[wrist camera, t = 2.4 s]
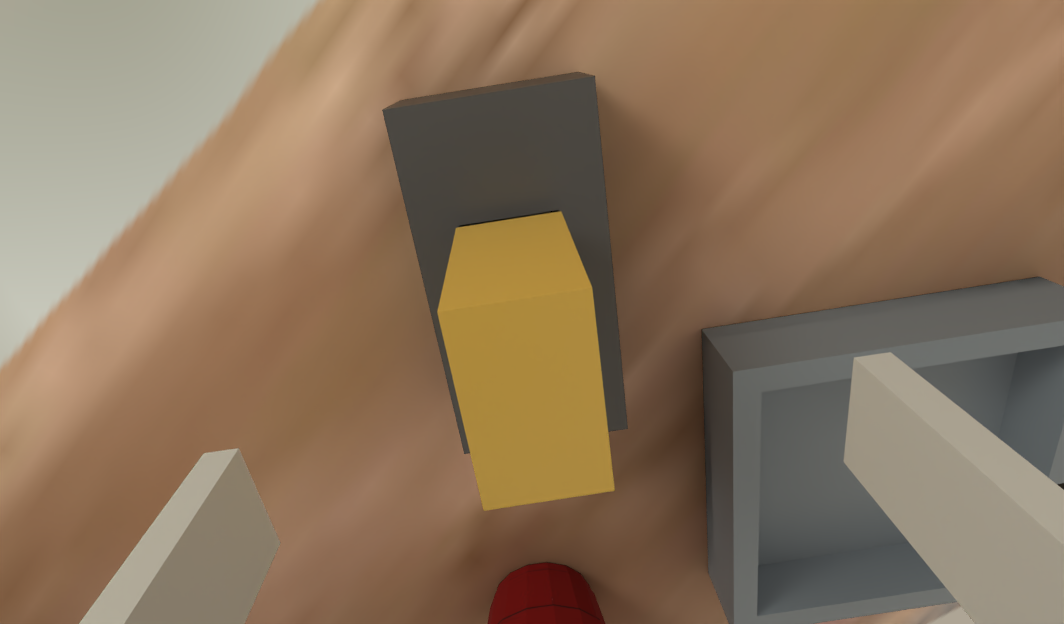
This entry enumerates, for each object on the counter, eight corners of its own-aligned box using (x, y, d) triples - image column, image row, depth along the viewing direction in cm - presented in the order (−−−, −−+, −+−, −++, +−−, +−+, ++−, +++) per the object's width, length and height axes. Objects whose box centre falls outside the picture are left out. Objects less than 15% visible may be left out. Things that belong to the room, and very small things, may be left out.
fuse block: (468, 402, 28) (464, 453, 25) (400, 100, 23) (382, 110, 19) (610, 380, 28) (627, 428, 25) (578, 71, 23) (594, 76, 19)
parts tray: (708, 573, 34) (733, 635, 31) (701, 329, 28) (732, 371, 24) (981, 531, 34) (1039, 589, 30) (1039, 276, 27) (1123, 311, 24)
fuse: (488, 323, 27) (483, 510, 16) (463, 194, 24) (437, 312, 13) (566, 311, 27) (614, 490, 16) (549, 181, 24) (592, 287, 13)
